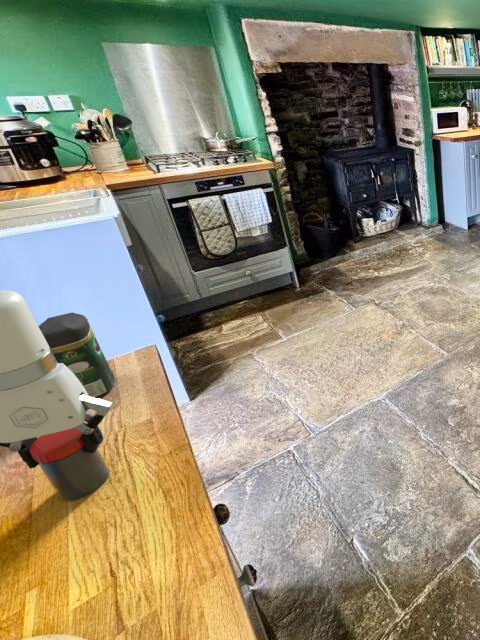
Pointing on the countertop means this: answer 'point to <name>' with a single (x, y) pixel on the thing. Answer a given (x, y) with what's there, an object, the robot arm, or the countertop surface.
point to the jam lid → (56, 445)
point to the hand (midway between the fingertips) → (67, 453)
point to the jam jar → (76, 474)
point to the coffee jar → (79, 351)
